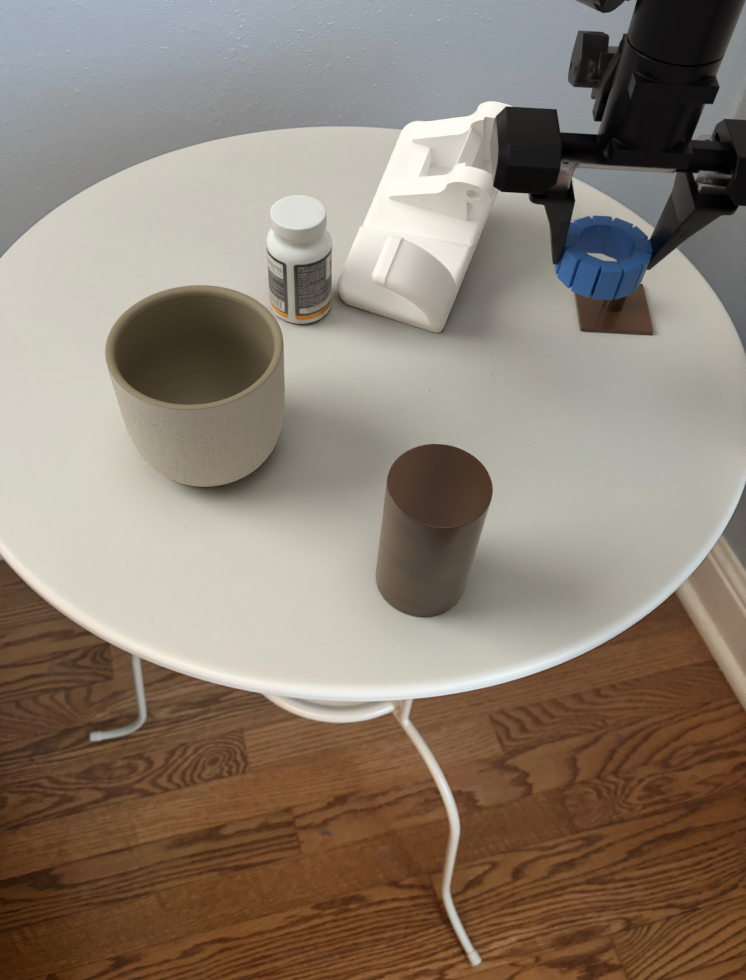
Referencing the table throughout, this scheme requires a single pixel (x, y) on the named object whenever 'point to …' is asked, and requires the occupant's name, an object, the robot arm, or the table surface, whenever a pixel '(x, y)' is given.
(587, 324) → the peg stand
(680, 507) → the table surface
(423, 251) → the tape dispenser
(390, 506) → the pedestal
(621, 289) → the tape roll
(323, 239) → the pill bottle
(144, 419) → the planter
